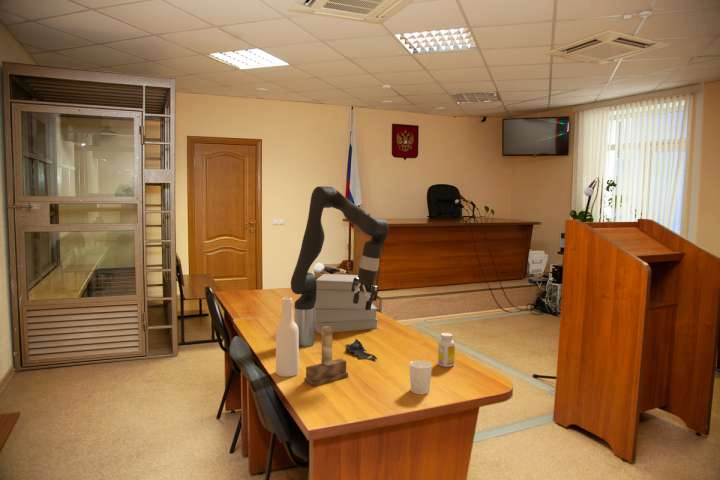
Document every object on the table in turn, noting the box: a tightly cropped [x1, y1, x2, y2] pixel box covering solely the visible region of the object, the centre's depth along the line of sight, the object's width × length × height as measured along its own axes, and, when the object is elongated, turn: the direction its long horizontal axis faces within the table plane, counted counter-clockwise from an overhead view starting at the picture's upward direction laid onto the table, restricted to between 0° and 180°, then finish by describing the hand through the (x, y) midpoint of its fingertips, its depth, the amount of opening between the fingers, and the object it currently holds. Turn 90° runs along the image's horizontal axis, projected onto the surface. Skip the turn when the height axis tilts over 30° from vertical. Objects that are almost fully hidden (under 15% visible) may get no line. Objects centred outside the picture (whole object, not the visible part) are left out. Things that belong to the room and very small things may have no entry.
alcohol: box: [275, 296, 300, 378], centre depth 193 cm, size 9×9×30 cm
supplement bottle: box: [437, 332, 456, 368], centre depth 206 cm, size 7×7×13 cm
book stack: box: [314, 273, 380, 335], centre depth 262 cm, size 30×35×26 cm
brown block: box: [303, 358, 349, 388], centre depth 189 cm, size 16×6×6 cm, turn 128°
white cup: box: [409, 359, 433, 395], centre depth 179 cm, size 8×8×10 cm
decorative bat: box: [345, 338, 378, 360], centre depth 222 cm, size 30×4×10 cm
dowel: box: [320, 326, 333, 366], centre depth 188 cm, size 4×4×14 cm
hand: (361, 306), depth 201 cm, fingers open, 8 cm apart
